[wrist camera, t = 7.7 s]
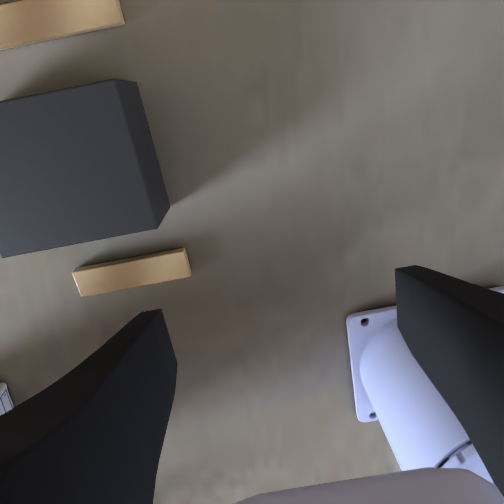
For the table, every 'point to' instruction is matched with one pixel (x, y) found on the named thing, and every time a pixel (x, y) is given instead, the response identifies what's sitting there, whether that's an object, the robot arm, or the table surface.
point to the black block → (77, 168)
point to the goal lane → (59, 26)
